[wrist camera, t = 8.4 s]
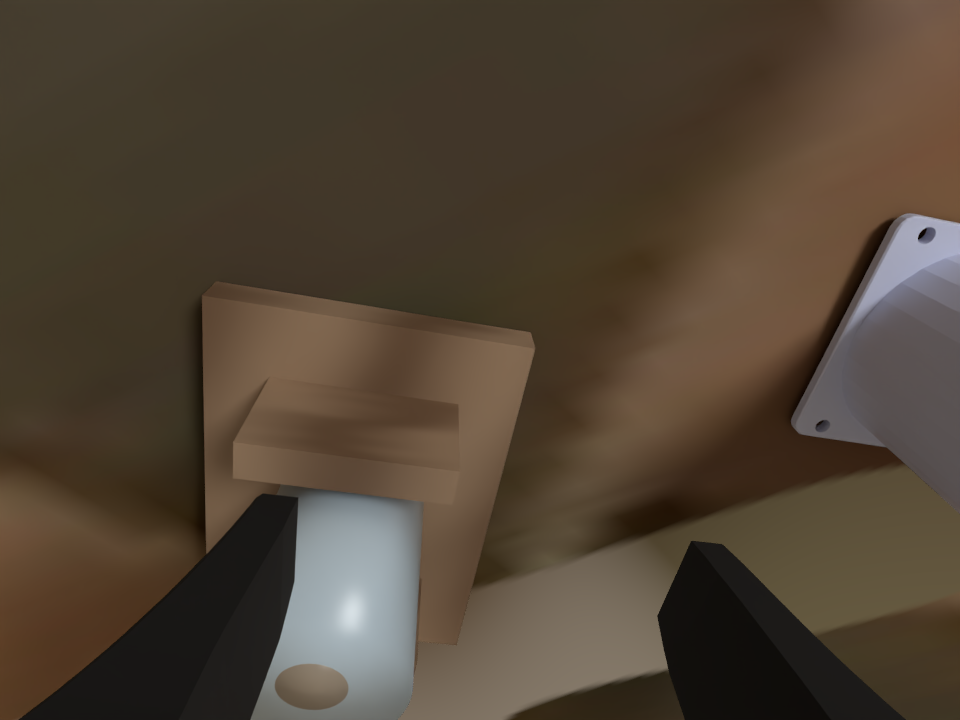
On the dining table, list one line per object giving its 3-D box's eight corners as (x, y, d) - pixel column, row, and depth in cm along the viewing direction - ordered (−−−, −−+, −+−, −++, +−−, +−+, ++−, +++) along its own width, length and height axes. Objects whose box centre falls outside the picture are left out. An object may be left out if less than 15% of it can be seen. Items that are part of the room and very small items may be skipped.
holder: (530, 332, 20) (552, 408, 15) (456, 620, 26) (457, 730, 22) (216, 281, 18) (147, 349, 14) (218, 597, 25) (170, 708, 20)
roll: (436, 453, 20) (429, 632, 14) (410, 559, 22) (395, 754, 16) (286, 429, 20) (210, 605, 13) (275, 541, 22) (204, 737, 16)
